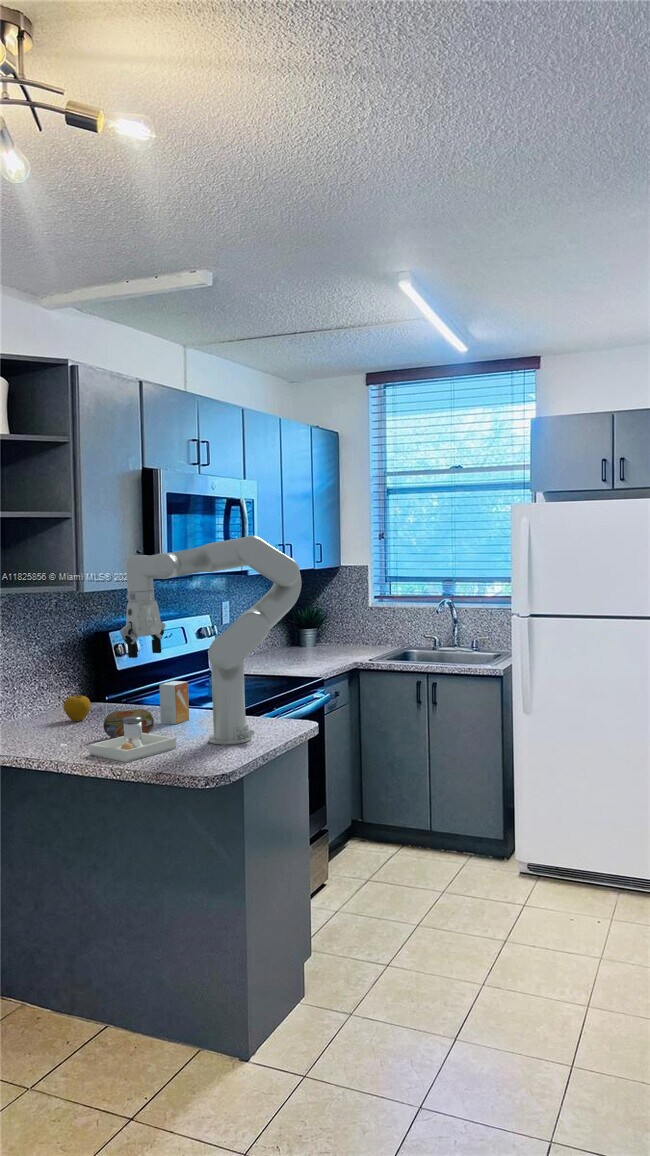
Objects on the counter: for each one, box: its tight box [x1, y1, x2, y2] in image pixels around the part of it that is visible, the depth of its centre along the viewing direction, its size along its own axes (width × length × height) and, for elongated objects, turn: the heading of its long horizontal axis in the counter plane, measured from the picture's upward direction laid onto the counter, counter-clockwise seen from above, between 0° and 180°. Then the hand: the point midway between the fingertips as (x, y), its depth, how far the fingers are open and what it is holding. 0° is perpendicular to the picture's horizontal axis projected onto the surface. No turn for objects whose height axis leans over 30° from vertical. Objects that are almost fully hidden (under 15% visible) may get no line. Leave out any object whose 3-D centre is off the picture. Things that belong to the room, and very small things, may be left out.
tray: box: [88, 733, 177, 763], centre depth 239 cm, size 16×18×3 cm
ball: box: [121, 743, 134, 750], centre depth 232 cm, size 4×4×4 cm
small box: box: [159, 680, 190, 725], centre depth 280 cm, size 8×6×13 cm
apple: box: [63, 694, 92, 722], centre depth 287 cm, size 9×9×9 cm
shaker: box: [123, 716, 143, 748], centre depth 239 cm, size 5×5×9 cm
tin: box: [103, 708, 155, 739], centre depth 260 cm, size 15×3×8 cm, turn 101°
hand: (145, 655), depth 247 cm, fingers open, 9 cm apart
